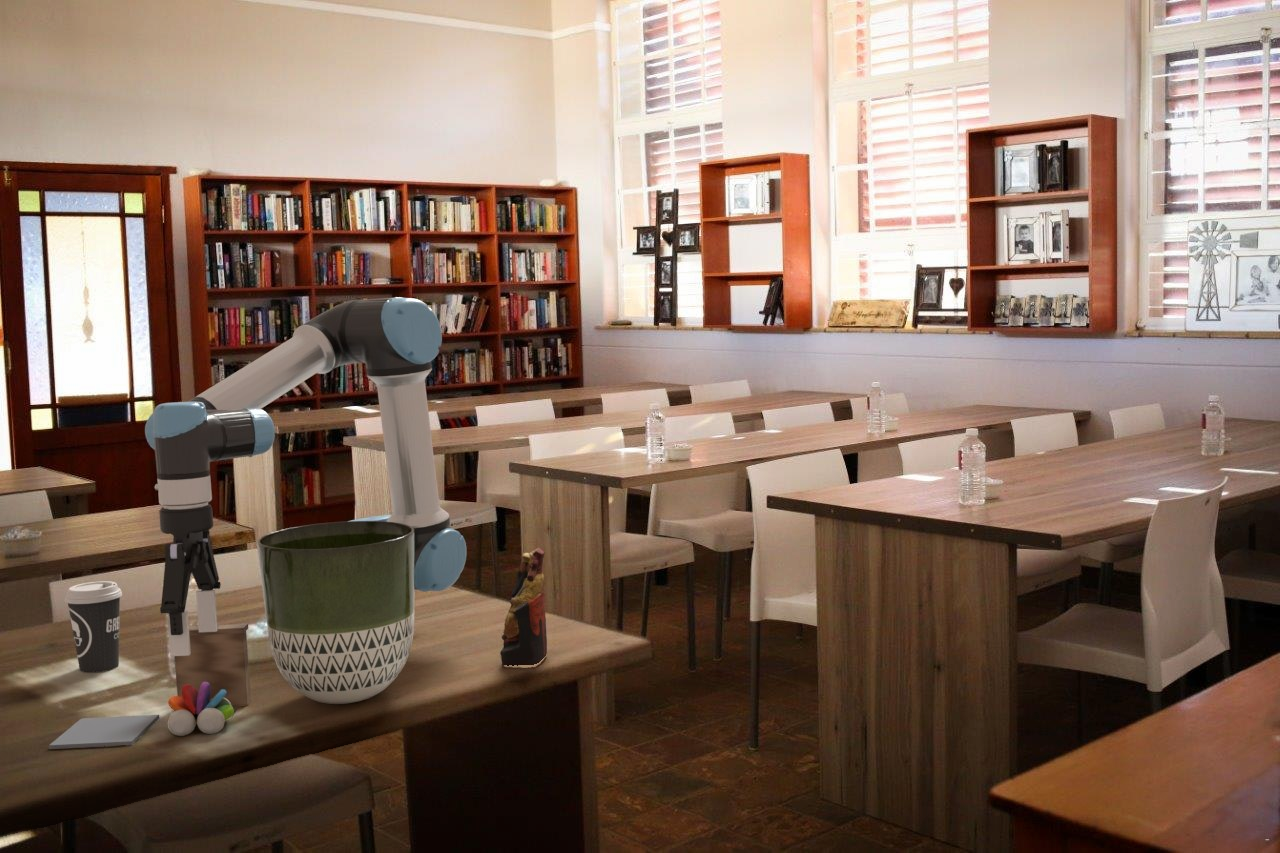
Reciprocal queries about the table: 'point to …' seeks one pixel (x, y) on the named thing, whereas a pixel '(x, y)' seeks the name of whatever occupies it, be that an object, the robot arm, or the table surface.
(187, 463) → the robot arm
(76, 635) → the coffee cup
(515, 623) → the statue
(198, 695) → the rainbow petal cluster
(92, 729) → the pad
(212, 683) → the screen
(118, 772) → the table surface
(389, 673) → the planter
